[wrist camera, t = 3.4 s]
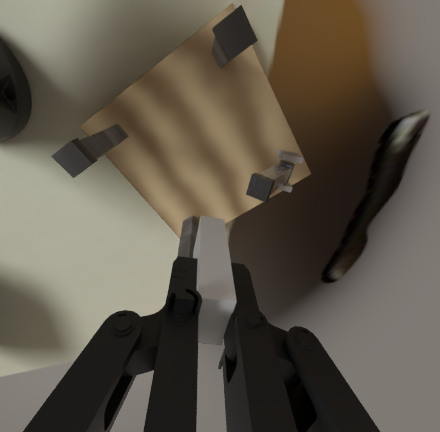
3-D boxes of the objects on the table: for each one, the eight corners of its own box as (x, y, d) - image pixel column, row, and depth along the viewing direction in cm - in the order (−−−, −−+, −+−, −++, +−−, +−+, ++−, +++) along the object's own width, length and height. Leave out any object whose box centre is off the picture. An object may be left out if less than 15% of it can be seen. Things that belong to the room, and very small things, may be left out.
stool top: (187, 236, 45) (180, 305, 31) (89, 123, 34) (10, 148, 20) (304, 168, 40) (359, 212, 26) (229, 10, 29) (254, -60, 15)
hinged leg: (281, 158, 36) (296, 163, 35) (276, 175, 37) (290, 180, 36) (251, 173, 25) (273, 181, 24) (245, 195, 26) (265, 203, 26)
